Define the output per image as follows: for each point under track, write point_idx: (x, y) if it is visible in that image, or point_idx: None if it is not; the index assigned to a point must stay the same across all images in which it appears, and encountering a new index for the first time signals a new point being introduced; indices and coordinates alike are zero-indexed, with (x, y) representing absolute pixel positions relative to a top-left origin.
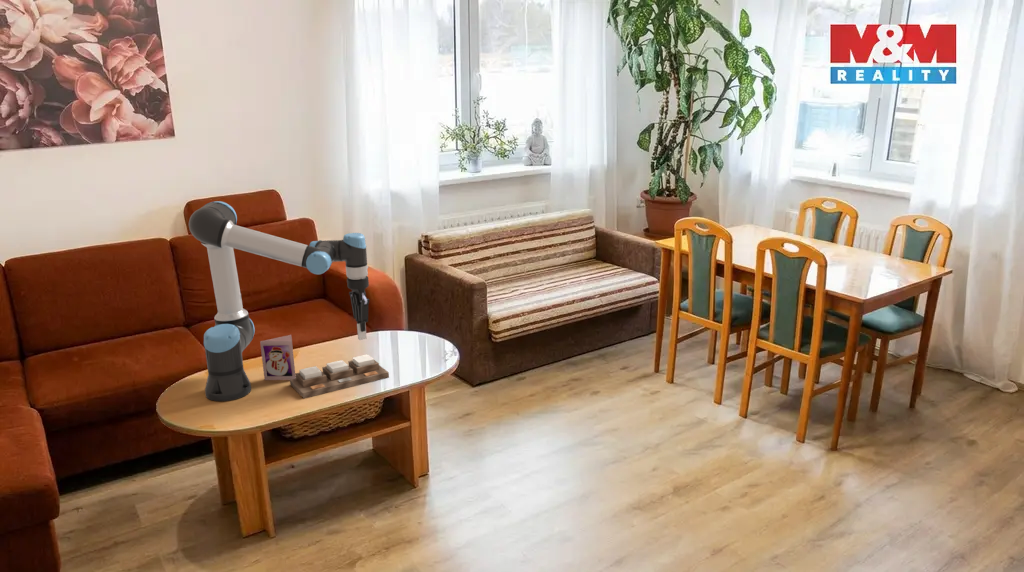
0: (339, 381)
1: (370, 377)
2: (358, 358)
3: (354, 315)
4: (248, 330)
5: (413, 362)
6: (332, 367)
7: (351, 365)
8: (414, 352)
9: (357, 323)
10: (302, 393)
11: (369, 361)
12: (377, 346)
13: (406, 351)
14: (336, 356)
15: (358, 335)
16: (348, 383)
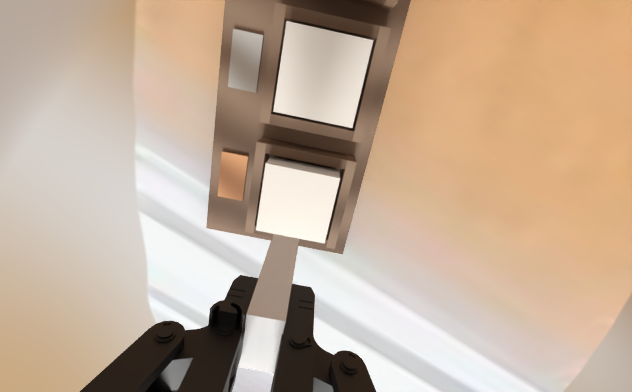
0: (243, 31)
1: (212, 159)
2: (311, 191)
3: (341, 381)
4: None
5: None
6: (303, 33)
7: (322, 153)
8: None
9: (227, 302)
10: None
11: (259, 208)
12: (464, 338)
13: None
14: (520, 206)
15: (284, 250)
16: (221, 63)
